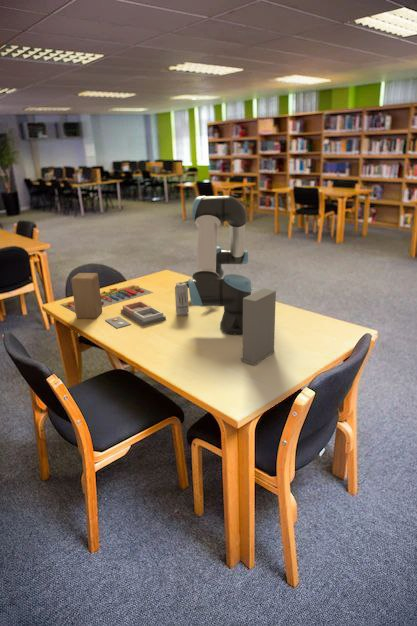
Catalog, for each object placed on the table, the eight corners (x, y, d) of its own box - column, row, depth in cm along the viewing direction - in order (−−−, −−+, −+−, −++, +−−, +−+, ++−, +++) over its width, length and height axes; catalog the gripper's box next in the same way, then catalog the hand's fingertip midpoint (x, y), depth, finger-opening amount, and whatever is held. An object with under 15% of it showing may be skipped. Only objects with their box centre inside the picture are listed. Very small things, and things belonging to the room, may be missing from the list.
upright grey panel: (261, 348, 173) (262, 288, 164) (274, 352, 170) (276, 291, 161) (240, 361, 164) (240, 298, 154) (254, 366, 160) (255, 301, 151)
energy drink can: (177, 316, 207) (175, 286, 202) (175, 312, 213) (173, 282, 207) (189, 315, 208) (188, 285, 203) (187, 311, 214) (186, 281, 208)
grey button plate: (130, 324, 199) (130, 323, 199) (116, 328, 195) (116, 327, 195) (119, 317, 208) (118, 315, 208) (105, 320, 204) (105, 319, 204)
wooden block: (103, 311, 216) (98, 272, 208) (96, 319, 206) (91, 278, 199) (83, 311, 217) (78, 272, 209) (75, 319, 207) (69, 278, 200)
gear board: (133, 281, 254) (153, 289, 241) (133, 286, 255) (153, 293, 242) (59, 300, 226) (77, 310, 213) (60, 305, 227) (78, 315, 214)
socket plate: (165, 319, 204) (165, 312, 203) (142, 325, 197) (142, 318, 196) (142, 306, 221) (142, 300, 219) (121, 312, 214) (120, 305, 213)
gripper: (229, 289, 230) (213, 302, 212) (186, 284, 240) (168, 296, 222) (229, 275, 228) (213, 287, 210) (186, 271, 237) (167, 282, 219)
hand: (190, 292), depth 216 cm, fingers open, 13 cm apart
